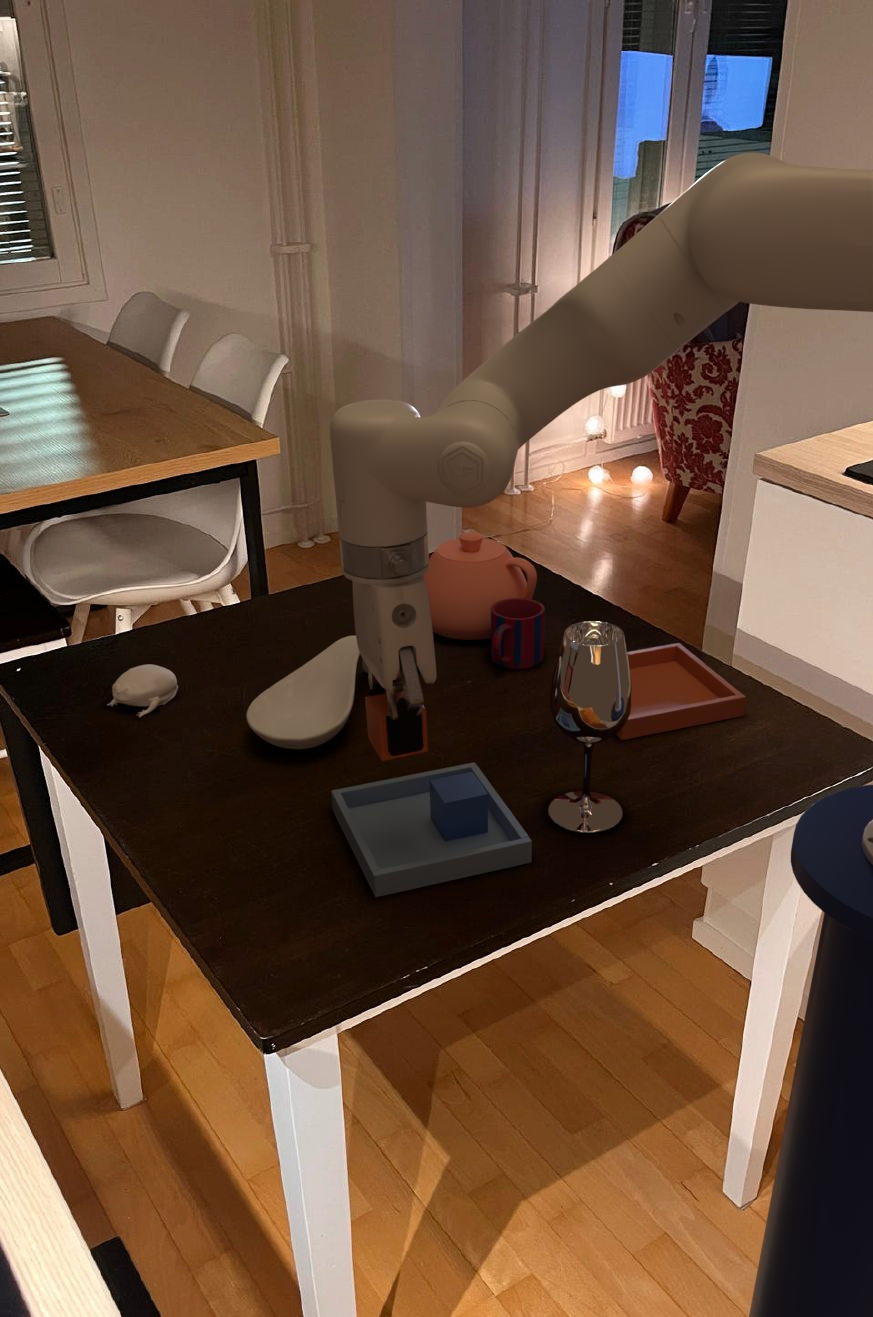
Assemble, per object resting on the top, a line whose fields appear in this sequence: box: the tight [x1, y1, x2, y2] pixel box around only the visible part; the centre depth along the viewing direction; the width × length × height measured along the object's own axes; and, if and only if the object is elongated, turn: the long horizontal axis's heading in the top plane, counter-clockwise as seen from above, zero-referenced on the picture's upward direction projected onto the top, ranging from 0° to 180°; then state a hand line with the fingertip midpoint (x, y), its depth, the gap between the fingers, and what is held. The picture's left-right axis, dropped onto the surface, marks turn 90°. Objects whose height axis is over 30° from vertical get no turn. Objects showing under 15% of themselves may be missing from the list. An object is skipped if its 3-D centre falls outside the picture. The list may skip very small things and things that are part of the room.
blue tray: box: [330, 762, 533, 898], centre depth 117 cm, size 16×16×2 cm
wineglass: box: [547, 620, 632, 834], centre depth 115 cm, size 8×8×20 cm
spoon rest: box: [246, 635, 369, 750], centre depth 137 cm, size 24×12×7 cm, turn 153°
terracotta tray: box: [615, 642, 747, 741], centre depth 140 cm, size 16×16×2 cm
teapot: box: [423, 531, 538, 641], centre depth 158 cm, size 22×16×12 cm
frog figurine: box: [106, 663, 179, 718], centre depth 143 cm, size 8×7×4 cm
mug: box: [490, 598, 546, 670], centre depth 148 cm, size 7×10×7 cm
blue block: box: [429, 772, 488, 841], centre depth 117 cm, size 4×4×4 cm
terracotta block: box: [364, 691, 429, 762], centre depth 110 cm, size 4×4×4 cm
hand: (397, 736), depth 110 cm, fingers closed on terracotta block, 4 cm apart
